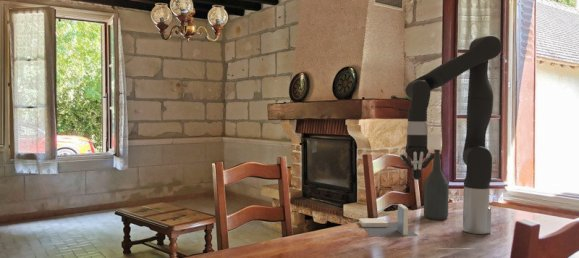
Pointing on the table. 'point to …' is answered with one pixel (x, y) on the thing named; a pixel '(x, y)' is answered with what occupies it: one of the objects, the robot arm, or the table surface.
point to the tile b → (402, 219)
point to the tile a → (373, 222)
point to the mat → (387, 231)
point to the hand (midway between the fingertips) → (416, 179)
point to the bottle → (436, 192)
